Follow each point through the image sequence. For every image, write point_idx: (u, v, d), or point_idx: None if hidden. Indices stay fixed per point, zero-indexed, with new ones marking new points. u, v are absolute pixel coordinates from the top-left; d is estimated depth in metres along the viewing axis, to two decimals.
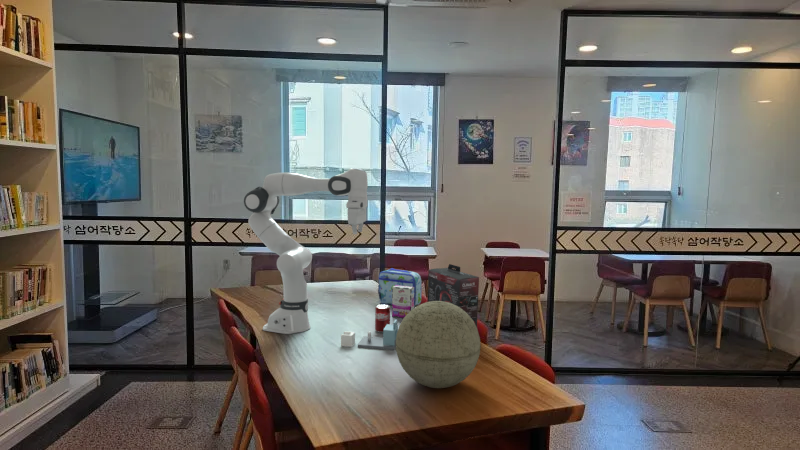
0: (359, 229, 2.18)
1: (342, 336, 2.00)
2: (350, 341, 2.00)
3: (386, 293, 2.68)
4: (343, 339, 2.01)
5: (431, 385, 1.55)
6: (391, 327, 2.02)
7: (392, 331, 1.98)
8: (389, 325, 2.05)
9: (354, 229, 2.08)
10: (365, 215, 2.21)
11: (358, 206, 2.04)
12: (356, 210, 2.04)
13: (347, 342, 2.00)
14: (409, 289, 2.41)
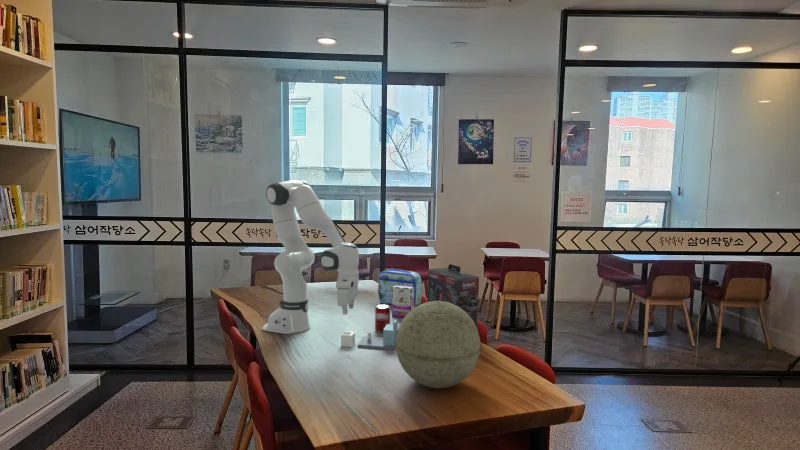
0: (350, 305, 2.05)
1: (342, 336, 2.00)
2: (350, 341, 2.00)
3: (386, 293, 2.68)
4: (343, 339, 2.01)
5: (431, 385, 1.55)
6: (391, 327, 2.02)
7: (392, 331, 1.98)
8: (389, 325, 2.05)
9: (344, 309, 1.96)
10: (356, 290, 2.08)
11: (348, 286, 1.92)
12: (346, 291, 1.91)
13: (347, 342, 2.00)
14: (409, 289, 2.41)
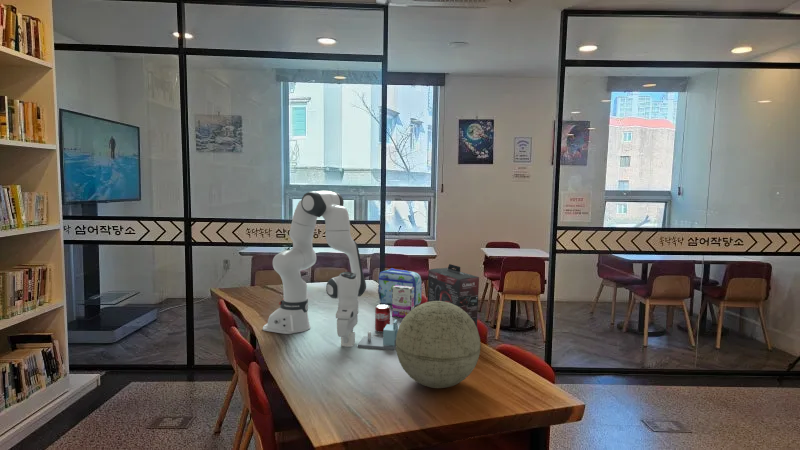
0: None
1: None
2: (350, 341, 2.00)
3: (386, 293, 2.68)
4: (343, 339, 2.01)
5: (431, 385, 1.55)
6: (391, 327, 2.02)
7: (392, 331, 1.98)
8: (389, 325, 2.05)
9: (345, 338, 1.98)
10: (356, 318, 2.09)
11: (348, 317, 1.93)
12: (346, 322, 1.93)
13: None
14: (409, 289, 2.41)
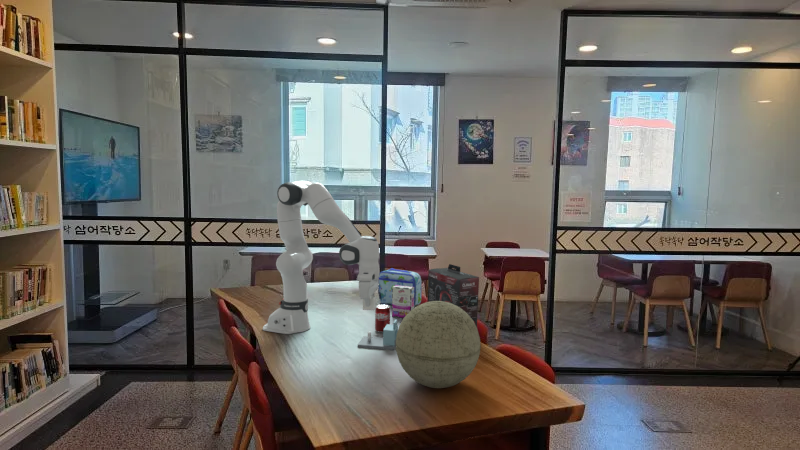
0: None
1: (364, 300, 2.00)
2: (372, 304, 1.99)
3: (386, 293, 2.68)
4: None
5: (431, 385, 1.55)
6: (391, 327, 2.02)
7: (392, 331, 1.98)
8: (389, 325, 2.05)
9: (367, 301, 1.98)
10: (377, 283, 2.09)
11: (370, 279, 1.92)
12: (368, 284, 1.92)
13: (369, 306, 1.99)
14: (409, 289, 2.41)
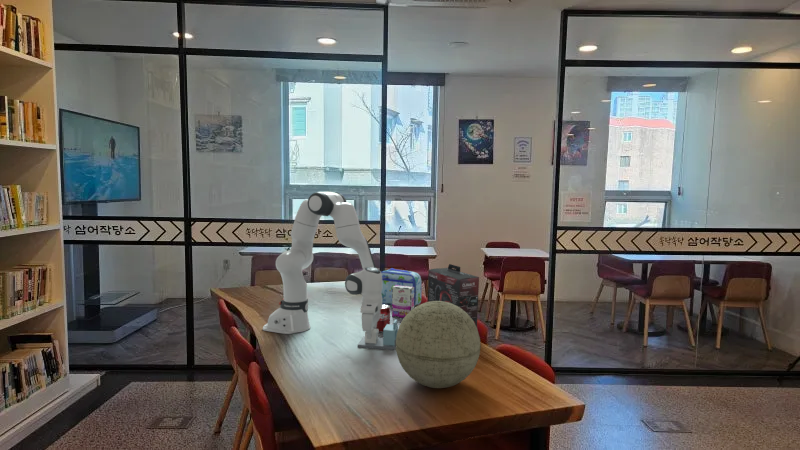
0: None
1: None
2: (374, 338, 2.01)
3: (386, 293, 2.68)
4: None
5: (431, 385, 1.55)
6: (391, 327, 2.02)
7: (392, 331, 1.98)
8: (389, 325, 2.05)
9: (368, 334, 1.98)
10: (379, 313, 2.11)
11: (373, 312, 1.94)
12: (371, 316, 1.94)
13: (371, 339, 2.02)
14: (409, 289, 2.41)
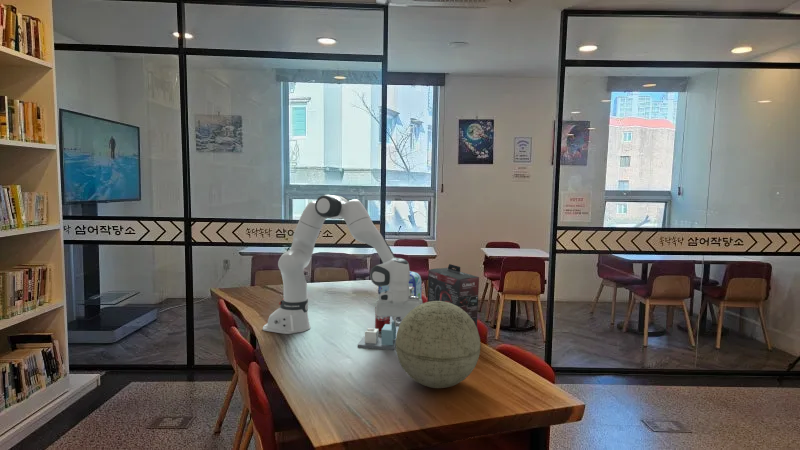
0: None
1: (366, 333, 2.02)
2: (374, 338, 2.01)
3: None
4: (367, 336, 2.02)
5: (431, 385, 1.55)
6: (389, 327, 2.02)
7: (390, 331, 1.98)
8: (387, 325, 2.05)
9: None
10: None
11: (378, 297, 1.99)
12: (377, 301, 2.00)
13: (371, 339, 2.02)
14: (409, 289, 2.41)
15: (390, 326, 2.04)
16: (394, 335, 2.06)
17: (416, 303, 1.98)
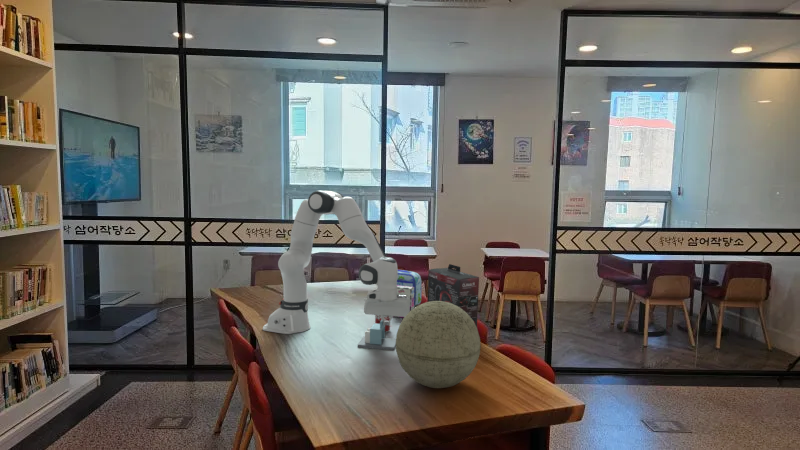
0: None
1: (366, 333, 2.02)
2: None
3: None
4: (367, 336, 2.02)
5: (431, 385, 1.55)
6: (378, 326, 2.03)
7: (379, 330, 1.99)
8: (376, 324, 2.06)
9: None
10: (403, 310, 1.99)
11: None
12: (366, 300, 2.01)
13: None
14: (409, 289, 2.41)
15: (379, 325, 2.04)
16: (383, 334, 2.07)
17: (404, 302, 1.98)
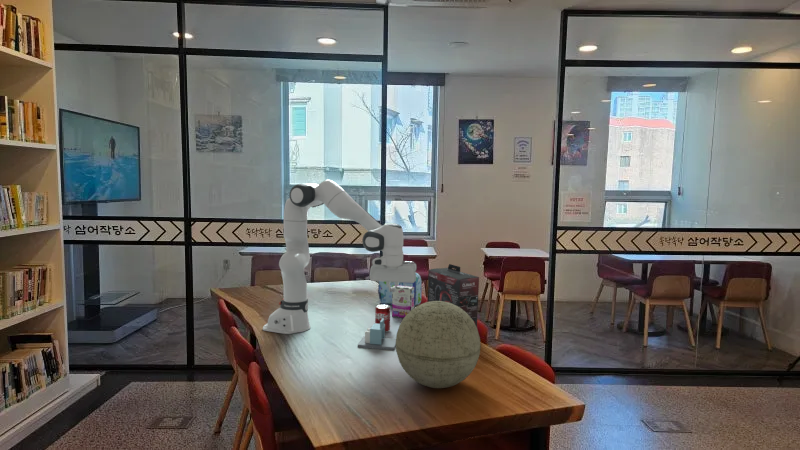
0: None
1: (366, 333, 2.02)
2: None
3: (386, 293, 2.68)
4: (367, 336, 2.02)
5: (431, 385, 1.55)
6: (378, 326, 2.03)
7: (379, 330, 1.99)
8: (376, 324, 2.06)
9: None
10: (409, 276, 1.97)
11: (372, 262, 1.98)
12: None
13: None
14: (409, 289, 2.41)
15: (379, 325, 2.04)
16: (383, 334, 2.07)
17: (410, 267, 1.97)
